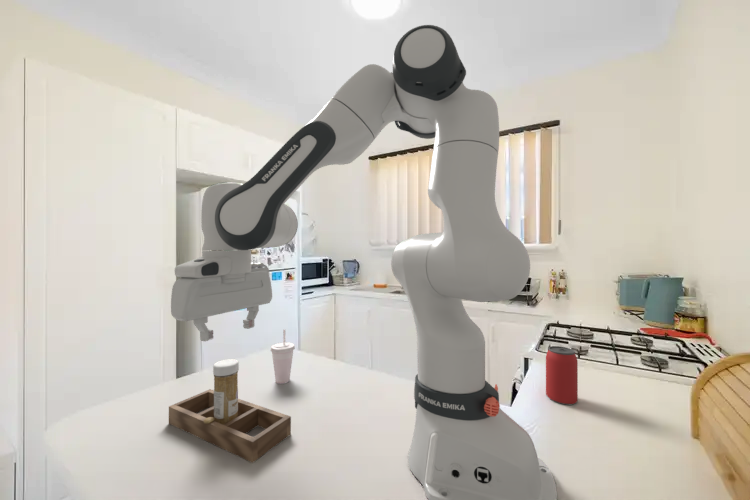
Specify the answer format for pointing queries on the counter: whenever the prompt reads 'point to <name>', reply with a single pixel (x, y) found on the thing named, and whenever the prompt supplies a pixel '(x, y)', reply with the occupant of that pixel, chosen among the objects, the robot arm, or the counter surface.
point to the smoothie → (282, 360)
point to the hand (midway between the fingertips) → (229, 333)
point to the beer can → (562, 375)
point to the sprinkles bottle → (225, 390)
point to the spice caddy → (231, 425)
